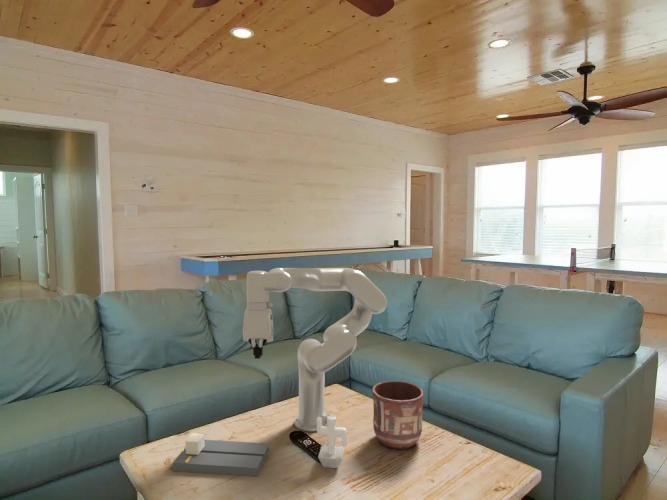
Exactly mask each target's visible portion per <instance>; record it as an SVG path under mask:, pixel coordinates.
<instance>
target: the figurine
mask: <svg viewBox="0 0 667 500" xmlns="http://www.w3.org/2000/svg"><path fill="white" fill-rule="evenodd" d="M327 423H328V426H322V418H321V417H318V418H317V431H316V434H317V435H318V436H319V437H320V436H321V437H322V436H323V437H327V445H324V444H323V445H321V446H320V449H319V450H320V451H319V453H318V457H317V458H318V459H319V462H320V464H321V465H322V467H323V468H330V469H331V468H332V469H338V468H339V466H340V464H341V462H342V460H343V455H344V450H345V447H346V446H347V445H348V432H347V429H346V428H345V427H339V426H338V427H337V416H336V415H335V414H334V415H329V416H328V417H327ZM336 437H337V438H341V446H336V445H337V444H336V443H337V441H336V440H337V439H336Z"/></svg>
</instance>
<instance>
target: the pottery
mask: <svg viewBox="0 0 667 500" xmlns="http://www.w3.org/2000/svg"><path fill="white" fill-rule="evenodd" d="M371 391H372V401H373V402H372V403H373V404H372V405H373V416H372V419H373V420H372V423H373V425H372V426H373V431H374V434H375V436H376V438H377V440H378V441H379V442H380V443H381V444H382V445H383V446H385V447H387V448H389V449H393V450H407V449H410V448H412V447H413V446H414V445H415V444H416V443H417V442H419V440H420V438H421V436H422V432H423V403H424V397H425V396H424V395H425V394H424V393H425V392H424V390H423V388H421V387H419V386H418V385H416V384H414V383H411V382H407V381H401V380H389V381H383V382H379V383H376V384H375V385H374V386H373V387H372V390H371Z"/></svg>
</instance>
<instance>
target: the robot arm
mask: <svg viewBox="0 0 667 500" xmlns="http://www.w3.org/2000/svg"><path fill="white" fill-rule="evenodd" d="M291 288H293V289H296V288H297V289H304V290H305V289H306V290H307V291H308V290H309V291H311V292H312V291H313V292H333V291H334V292H335V291H336V292H340V291H343V292H344V291H345V292H348V293H350V294H351V295H352V296H353V298H354V303H353V304H354V305H353V307H352V309H351V311H350V312H349V313H348V314H346V315H345V316H344V317H342V318H340V319H339V320H338V321H336V322H335V323H333V324H331V325H330V326H328V327H326V329H325V330H324V332H323V335H322V337H323V341H324V342H322V343H321V342H320V341H319V340H317V339H314V338H307V339H305V340H303V341H302V342H301V343H299V344H300V345H299V346H298V348H297V364H298V365H297V366H298V416H297V417H296V418H294V426H295V427H296V428H297V429H298V430H300V431H303V432H317V418H318V417H321V418H322V426H328V423H327V417H328V416H329V415H335V414H334V413H327V409H326V408H325V383H326V382H325V378H326V377H325V374H326V372H328V371H330V370H331V369H332V368H334V367H335V366H337V365H338V364H341V362H343V361H344V360H346V359H347V358H348V357H350V356H351V355H352V354H353V353H354V351H355V350H356V347H357V344H358V342H357V341H358V340H357V337H358V335H360V334H361V333H363V332H364V331H365V330H366V329H367V328H368V326H369V325H370V323H371V321H372V317H373V315H378V314H382V313H383V312H385V310H386V308H387V305H388V299H387V297H386V295H385V294H384V292H383V291H381V289H380V288H379V287H378V286H377V285H376V284H374V282H372V280H371V279H369V278H368V277H367V275H365V274H364V273H363V272H362V271H360V270H358V269H354V268H350V267H307V268H306V267H275V268H272V269H270V270H269V271H265V270H250V271H249V272H247V274H246V309H245V310H244V315H243V322H242V336H243V337H242V340H243V341H244V342H247V343H249V344H250V345H251V346H252V348H253V349H252V350H253V356H254V359H255V360H256V359H261V357H263V355H264V352H263V351H264V346H265V345H266V343H271V342H273V341H274V336H273V335H274V322H273V321H274V318H273V313H272V309H271V308H272V307H273V306H274V304H273V303H272V302H270V300H269V299H270V298H269V297H270V296H269V292H276V293H284V292H286V291H288V290H289V289H291Z"/></svg>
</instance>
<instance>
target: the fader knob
mask: <svg viewBox="0 0 667 500" xmlns="http://www.w3.org/2000/svg"><path fill="white" fill-rule="evenodd" d="M204 440H205V433H194V432H193V433H191V434H190V436H189V437H188V438H187V439H186V440H185V442H184V444H185V445H184V448H185V447H186V454H195V455H198V454H199V453H200V451H201V450H202V449H203V448H204V446H205V442H204Z"/></svg>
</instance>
